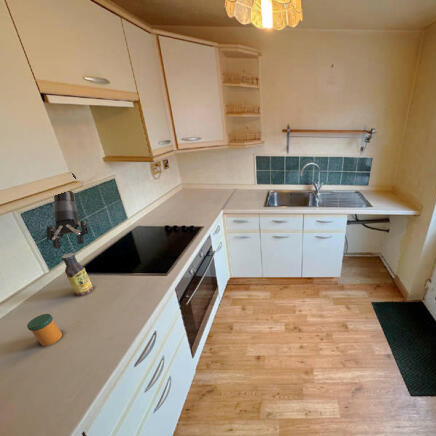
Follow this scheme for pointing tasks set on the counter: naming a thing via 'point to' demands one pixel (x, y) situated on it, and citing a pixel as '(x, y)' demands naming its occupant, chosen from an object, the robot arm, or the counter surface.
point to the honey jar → (48, 334)
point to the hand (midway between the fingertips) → (69, 246)
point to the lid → (39, 322)
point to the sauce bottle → (77, 275)
